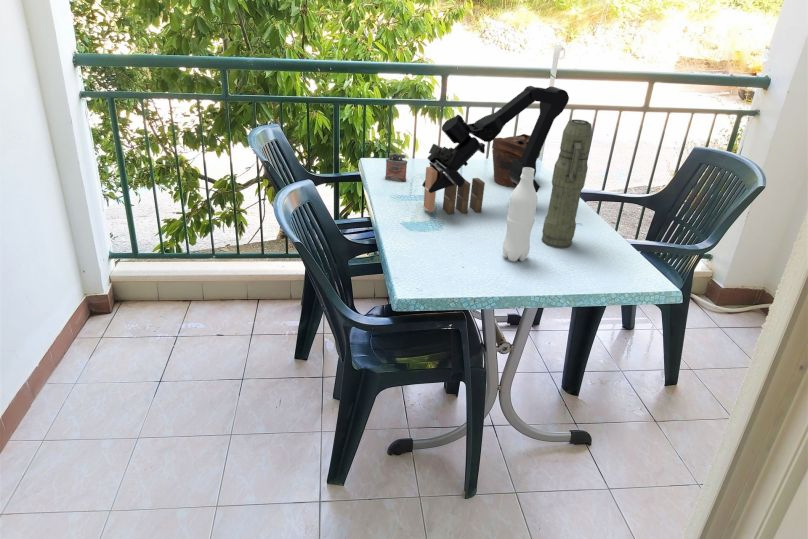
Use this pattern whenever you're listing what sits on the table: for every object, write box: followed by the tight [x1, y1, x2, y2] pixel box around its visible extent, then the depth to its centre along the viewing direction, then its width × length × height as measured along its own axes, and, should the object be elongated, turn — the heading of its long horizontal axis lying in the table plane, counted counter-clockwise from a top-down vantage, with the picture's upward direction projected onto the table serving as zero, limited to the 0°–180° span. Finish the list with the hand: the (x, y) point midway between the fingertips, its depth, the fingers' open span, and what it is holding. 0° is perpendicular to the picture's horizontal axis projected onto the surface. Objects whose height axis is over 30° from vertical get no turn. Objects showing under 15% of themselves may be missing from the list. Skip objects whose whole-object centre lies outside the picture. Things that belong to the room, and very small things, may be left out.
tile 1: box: [468, 177, 486, 213], centre depth 183 cm, size 2×5×10 cm, turn 19°
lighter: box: [384, 152, 408, 183], centre depth 206 cm, size 8×3×10 cm, turn 73°
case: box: [491, 133, 541, 188], centre depth 210 cm, size 18×20×18 cm
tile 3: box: [442, 182, 458, 215], centre depth 180 cm, size 2×5×10 cm, turn 19°
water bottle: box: [501, 167, 539, 262], centre depth 148 cm, size 7×7×25 cm
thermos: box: [541, 119, 593, 249], centre depth 157 cm, size 9×12×35 cm
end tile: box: [422, 166, 437, 213], centre depth 177 cm, size 2×5×13 cm, turn 19°
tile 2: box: [455, 179, 471, 214], centre depth 181 cm, size 2×5×10 cm, turn 18°
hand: (426, 189), depth 176 cm, fingers closed on end tile, 5 cm apart
